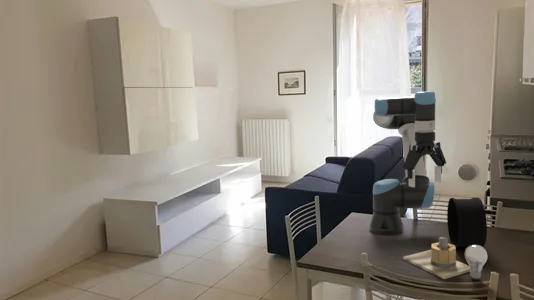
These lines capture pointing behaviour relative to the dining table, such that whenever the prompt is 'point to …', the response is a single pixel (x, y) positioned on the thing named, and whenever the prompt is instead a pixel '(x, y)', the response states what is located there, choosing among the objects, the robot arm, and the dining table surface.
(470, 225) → the car wheel rim
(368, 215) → the dining table surface
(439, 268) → the shaft stand
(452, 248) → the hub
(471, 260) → the light bulb
